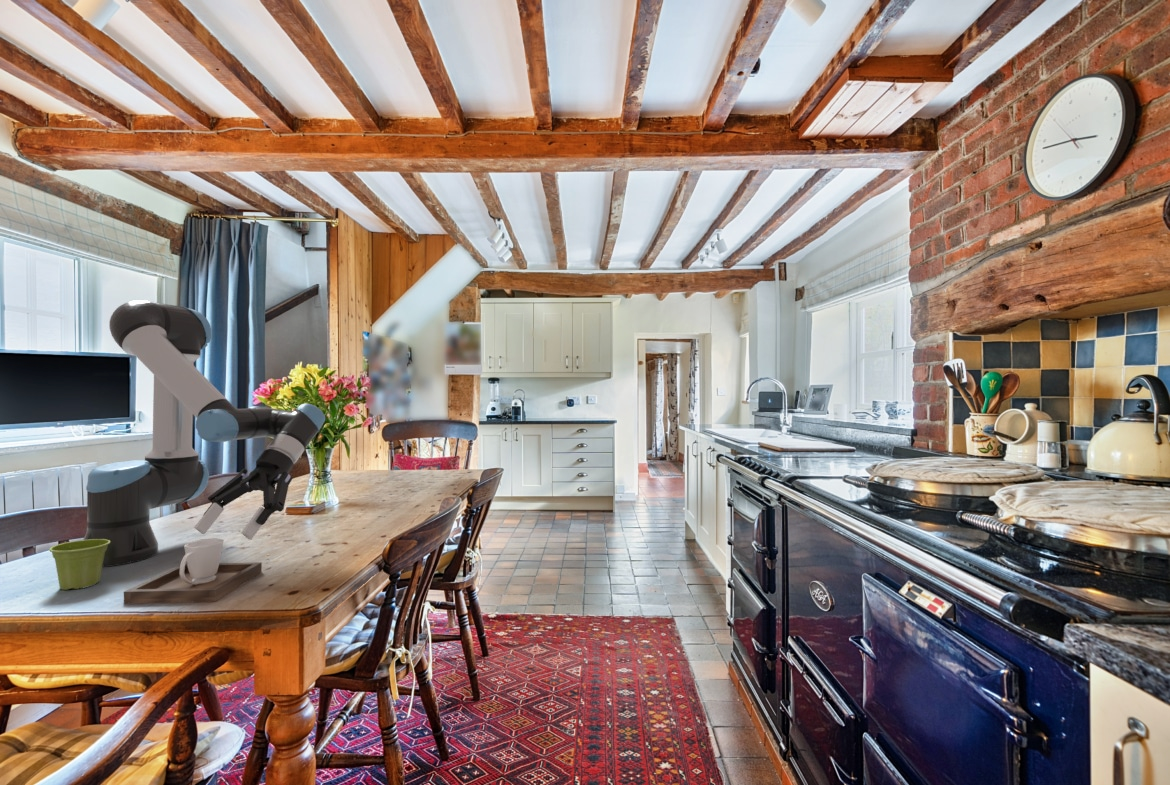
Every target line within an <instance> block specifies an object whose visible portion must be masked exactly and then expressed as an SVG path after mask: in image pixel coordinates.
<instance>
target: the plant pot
mask: <svg viewBox="0 0 1170 785" xmlns="http://www.w3.org/2000/svg"><path fill="white" fill-rule="evenodd" d="M108 544H110V540H107V539H89V540H83V539H82V540H72V541H68V542H63V543H59V544H56V545H53V546H51V547H50V548H49V549H48V550H49V552H50V553H51V555H52V558H53V559H54V563H55V568H56V574H57V578H58V579H57V580H58V585H59V589H60V590H64V591H68V590H70V589H75V590H79V588H81V589H85V588H87V586H89V587H92V586H91V585H93V586H94V584H95V585H96V584H97V583H100V580H101V575H102V570H103V567H102V565H103V560H104V555H105V551H106V550H107V546H108ZM84 587H85V588H84Z"/></svg>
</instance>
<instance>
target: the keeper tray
mask: <svg viewBox="0 0 1170 785" xmlns="http://www.w3.org/2000/svg"><path fill="white" fill-rule="evenodd" d="M262 562H263V561H262ZM262 562H258V561H257V562H220V563H219V567H218V570H217V573H216V574H215V575H214V576H216V579H215V580H213V581H210V582H207V583H199V584H197V585H193V584H188V583H186V582H184V581H183V580H182V579H181V578H180V574H179V573H180V565H177V566H175V567H174V568H171V569H169V570H167V571H165V572H163V573H161V574H159V575H156V576H154V577H153V578H150V579H148V580H145V581H144V582H142V583H140V584H137V585H135V586H133V587H131V588H129V589H127V590H125V591H123V604H127V605H128V604H161V603H164V604H168V603H169V604H170V603H205V602H206V603H209V602H211V603H213V602H218V600H221V599H222V598H224V597H225V596H227V595H228V594H229V593H231V592H233V591H235V590H236V589H237V588H239V587H241V586H242V585H244V584H246V583H248V582H249V581H250V580H252V579H254V578H255V577H256V576H258V575H260V574H262V573H263V572H262V567H263V566H262ZM184 574H185V577H186V578H187V579H188V580H189V581H191V582H192V580H193V579H194V578H192V577H191V576H190V573H189V570H188V565H187V563H185V569H184ZM253 577H254V578H253Z"/></svg>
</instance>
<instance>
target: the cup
mask: <svg viewBox="0 0 1170 785" xmlns="http://www.w3.org/2000/svg"><path fill="white" fill-rule="evenodd" d="M224 541H225V540H224V539H220V538H216V537H215V538H203V539H202V538H201V539H198V540H195V541H189V542H187V543H186V544H184V546H183V547H184V552H185V553H184V556H183V557H182V560H181V561H180V565H179V566H180V573H179V574H180V578H181V579H182V580H183V581H184V582H186V583H188V584H193V585H197V584H199V583H207V582H210V581H213V580H215V579H216V576H214V575H215V574H216V573H217V570H218V567H219V563H221V557H222V552H223V548H224V547H223V546H224ZM185 564H187V565H188V570H189V573H190V576H191V577H192V578H194V579H193V580H192V582H191V581H189V580H188V579H187V578H186V577H185V574H184V569H185Z"/></svg>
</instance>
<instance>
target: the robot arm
mask: <svg viewBox="0 0 1170 785" xmlns="http://www.w3.org/2000/svg"><path fill="white" fill-rule="evenodd" d="M109 330H110V334H111V337H112V339H113V341H114V342H115V343H117V345H118V346H119V347H120V348H121V349H122V351H124V352H125V353H126V354H127V355H130V356H133V357H134V356H135V357H136V358H137V359H138V360H139V361H140V362H141V363H142V364H143V365H144V366H145V367H146V368H147V369H148V370H149V371H150V372H151V373H152V374H153V394H152V395H153V400H152V402H153V404H152V405H153V406H152V407H153V408H152V449H151V450H150V451H149V452H148V453H146V455H145V456H144V460H143V459H134V460H125V461H117V462H112V463H107V464H102V465H99V466H97V467H94V468H93V469H91V471H90V472H89V473H88V476H87V485H86V486H85V490H86V492H87V494H86V495H87V498H86V499H87V501H86V512H87V513H86V517H87V518H86V523H87V524H86V533H85V535H84V537H83V539H82V540H89V539H107V540H110V544H108V546H107V550H106V551H105V555H104V560H103V565H102V568H103V567H111V566H118V565H119V566H120V565H125V564H129V563H134V562H138V561H142V560H145V559H148V558H151V557H153V556H156V555H158V552H159V542H158V539H157V538H156V535H155V532H154V531H153V528H152V525H151V522H150V513H151V510H153V509H157V508H161V507H166V506H170V505H175V504H176V505H177V504H178V505H179V504H183V503H185V502H188V501H191V500H194V499H196V498H198V497H200V495H201V494H202V493H204V491H205V489H206V488H207V486H208V483H209V479H210V473H209V469H208V466H206V463H205V462H204V461H203V460H201V459H199V455H200V454H199V452H197V451H196V450H195V449H194V448H193V421H194V420H193V418H194V417H195V418H196V421H195V429H196V431H197V435H198V436H199V437H200V438H201V439H202V440H204V441H206V442H210V443H211V442H212V443H213V442H216V443H217V442H218V443H221V442H222V443H225V442H230V441H237V440H246V439H247V440H248V439H259V438H272V440H271V441H270V442H269V444H268V445H267V446H266V448H265V449H264V450H263V451H262V453H261V454H260V455H259V456H258V457H257V459H256V461H255V465H256V466H255V468H254V469H253V470H252V471H249V470H247V468H242V469H241V470H240V471H239V472H238V474H236V475H235V476H234V477H233V478H231V479H230V480H229V481H228V482H226V483H225V484H223V486H221V487H220V488H218V489H217V490H216V491H214V492H212V494H211V495H209V496H208V497H207V500H208V501H209V502H211V504H210V505H209V507H208V508H207V509H206V510H205V512H204V513H203V515H202V517H201V518H200V519H199V520H198V521H197V522H196V524H195V525H194V526H193V528H194V529H195V530H197V532H199V533H201V534H202V535H205V534H207V532H209V529H210V528H211V527H213V524H214V523H215V522H216V521H217V519H218V518H219V517H220V515H221V514H222V513H223V512H224V510H225V509H224V507H225V506H227V505H228V504H230V503H232V502H234V501H235V500H236V499H238V498H240V497H242V496H243V495H245V494H246V493H252V492H253V491H261V492H262V493H263V503H262V504H261V506H262V507H261V506H260V507H258V509H257V510H256V512H254V514H253V516H252V517H251V518H250V520H249V521H248V522H247V524H246V525H245V527H244V528H243V530H242V531H241V532H240V533H241V534H242V535H243V536H244V537H245V538H246V539H248V540H253V539H254V537H255V536H256V534H257V533H258V531H259V530H260V528H261V527H262V526H263V525H265V524H266V522H267V521H268V519H269V518H270V516H271V515H272V514H275V512H277V511H278V512H282V511H284V508H285V504H286V499H287V495H288V491H289V486H290V484H291V482H292V480H293V477H292V476H291V475H290V472H291V470H292V469H293V468H294V464H296V463H297V461H299V458H300V457H301V456H302V455H303V453H304V452H305V451H306V449H307V447H308V446H309V444H310V443H311V442H312V440H313V439H314V438H315V436H317V434H318V433H320V430H321V428H322V427H323V425H324V423H325V422H326V415H325V414H324V412H323V411H322V410H321V408H319V407H317V406H316V405H314V404H311V403H305V402H304V403H302V404H300V405H299V406H298V407H296V408H295V410H285V409H278V408H272V407H268V406H265V405H264V406H257V405H253V406H250V407H248V408H237V407H236V406H235V405H234V404H232V403H231V402H230V400H229V399H227V398H226V397H225V396H224V395H223V394H222V393H221V392H220V391H219V389H217V387H215V386H214V385H213V383H211V381H209V379H207V378H206V376H204V375H203V374H202V373H201V371H200V370H199V369H198V368H197V367H196V366H195V365H194V363H195V362H196V361H197V360H198V359H199V358H201V353H202V350H204V349H206V348H207V347H208V344H210V343H211V341H212V336H213V334H212V328H211V324H210V322H209V320H208V319H207V317H205V315H204V314H203V313H202V312H200V311H198V310H195V309H192V308H189V307H186V306H179V305H173V304H167V303H161V302H154V301H150V300H143V299H142V300H141V299H139V300H136V299H135V300H130V301H127V302H124V303H123V304H120V306H119V305H118V307H117V308H116V309H115V310H114V311H113V312H112V314H111V316H110V318H109ZM280 440H282V441H280Z"/></svg>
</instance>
